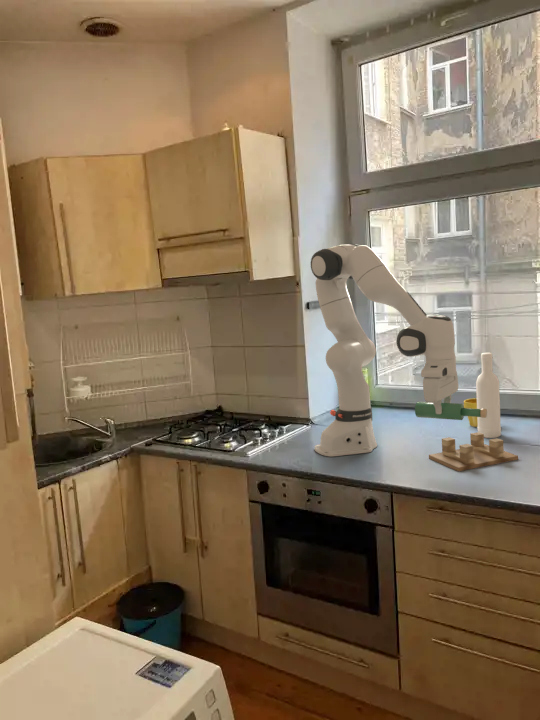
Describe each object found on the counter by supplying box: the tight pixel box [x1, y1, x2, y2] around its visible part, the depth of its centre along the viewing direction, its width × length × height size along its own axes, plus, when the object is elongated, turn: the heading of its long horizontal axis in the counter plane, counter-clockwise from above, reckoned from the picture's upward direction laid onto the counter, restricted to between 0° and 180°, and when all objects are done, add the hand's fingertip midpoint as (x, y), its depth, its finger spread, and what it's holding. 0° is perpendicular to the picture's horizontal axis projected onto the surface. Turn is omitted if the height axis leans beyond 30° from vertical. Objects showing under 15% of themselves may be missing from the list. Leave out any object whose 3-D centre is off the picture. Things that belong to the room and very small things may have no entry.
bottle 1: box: [414, 401, 487, 421], centre depth 190 cm, size 21×5×5 cm, turn 54°
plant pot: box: [463, 397, 478, 428], centre depth 238 cm, size 10×10×10 cm
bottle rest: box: [428, 431, 519, 472], centre depth 197 cm, size 22×16×6 cm
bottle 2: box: [475, 352, 502, 439], centre depth 221 cm, size 8×8×30 cm
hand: (443, 411), depth 191 cm, fingers closed on bottle 1, 5 cm apart
